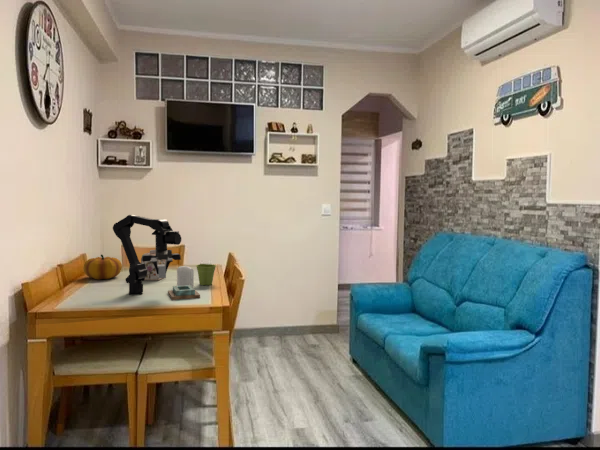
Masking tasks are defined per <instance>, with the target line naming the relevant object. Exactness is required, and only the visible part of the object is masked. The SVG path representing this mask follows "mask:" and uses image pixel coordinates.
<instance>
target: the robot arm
mask: <svg viewBox="0 0 600 450" xmlns="http://www.w3.org/2000/svg"><path fill="white" fill-rule="evenodd" d="M135 224H137V225H141V226H146V227H149V228H150V229H152V230H154V231H153V232H152V233H151V236H154V237H155V250H156V256H151V255H150V254H147V255H143V254H142V255H141V258H142V261H150V262H151V263H153V264H154V266H155V269H156V272H157V274H158V267H157V261H156V259H158V260H166V262H165V266H166V273H167V272H168V269H169V266H170V264H171V263H172V262H173V260H174V261H181V260H182V259H181V257H182V256H181V254H180V253H173V250H172V249H168V245H175V246H176V245H178V246H179V245H180V244H181V242H182V236H181V234H180V231H179V230H177V231H174V230H173V229H172V227H171V225H170V223H169V220H168V219H164V218H161V219H160V218H158V219H157V218H155V219H153V218H149V217H145V216H140V215H137V214H128V215H127V216H125V217H124V218H122V219H120V220H119V221H118V222H115V223H114V224H113V225H112V231H113V232H114V234H115V236H116V237H117V238H118V239H119V240H120V242H121V244H122V248H123V250H124V253H125V256H126V258H127V261H128V264H129V268H128V273H129V274H128V276H127V277H125V282H126V283H127V284H128V295H129V296H130V295H134V296H135V295H143V292H144V284H143V282H144V281H146V280H145V277H146V275H147V269H146V267H145V264H141V261H140V260H139V258H138V255H137V254H138V253H137V251H136V249H135V247H134V244H133V241H132V237H131V232H132V229H131V228H132V227H133V226H134V225H135Z"/></svg>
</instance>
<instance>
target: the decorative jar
mask: <svg viewBox="0 0 600 450" xmlns="http://www.w3.org/2000/svg"><path fill="white" fill-rule="evenodd" d="M147 254H150V255H151V256H156V249H150V250H149V252H145V253H143V254H142V255H147ZM156 261H157V265H159V264H164V265H165V262H166V260H158V259H156ZM140 263H141V264H145V267H146V269H147V275H146V277H145V280H144V281H157V280H158V281H161V280H163V279H164V278H158V276H157V272H156V269H155V266H154V264H153V263H151V262H150V261H142V257H141V258H140Z"/></svg>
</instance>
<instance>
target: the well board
mask: <svg viewBox="0 0 600 450" xmlns="http://www.w3.org/2000/svg"><path fill="white" fill-rule="evenodd" d="M167 294H168V296H169V297H170V299H171V301H174V300H176V301H177V300H188V299H189V300H190V299H200V298H201V294H200V293H199V292H198V290H196V289H195V288H194V286H193V287H192V286H191V285H184V286H177V285H173V286H172V290H171V289H170V290H167Z"/></svg>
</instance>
